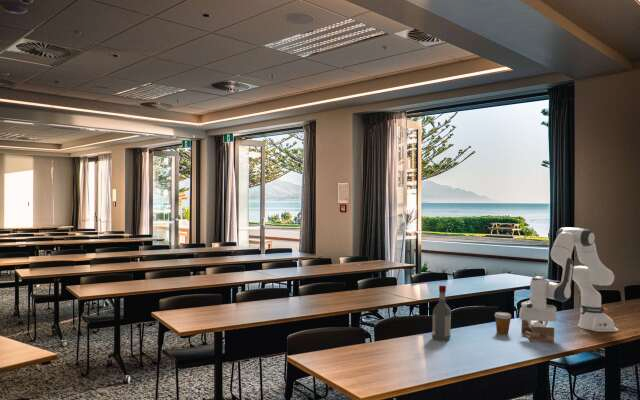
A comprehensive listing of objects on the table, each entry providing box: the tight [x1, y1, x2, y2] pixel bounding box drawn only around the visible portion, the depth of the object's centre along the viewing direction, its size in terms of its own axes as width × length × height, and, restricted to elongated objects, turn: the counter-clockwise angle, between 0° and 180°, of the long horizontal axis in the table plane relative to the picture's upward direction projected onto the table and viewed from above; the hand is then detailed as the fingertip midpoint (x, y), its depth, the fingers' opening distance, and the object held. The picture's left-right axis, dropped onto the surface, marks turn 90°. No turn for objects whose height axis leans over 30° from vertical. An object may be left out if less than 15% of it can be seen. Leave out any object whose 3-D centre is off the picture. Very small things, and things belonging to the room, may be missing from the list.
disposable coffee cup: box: [494, 311, 512, 336], centre depth 294 cm, size 10×10×12 cm
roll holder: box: [521, 320, 555, 344], centre depth 286 cm, size 20×12×8 cm, turn 176°
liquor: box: [431, 285, 452, 342], centre depth 279 cm, size 9×9×30 cm
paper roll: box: [530, 321, 547, 329], centre depth 286 cm, size 13×6×6 cm, turn 176°
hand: (537, 328), depth 286 cm, fingers closed on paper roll, 6 cm apart
